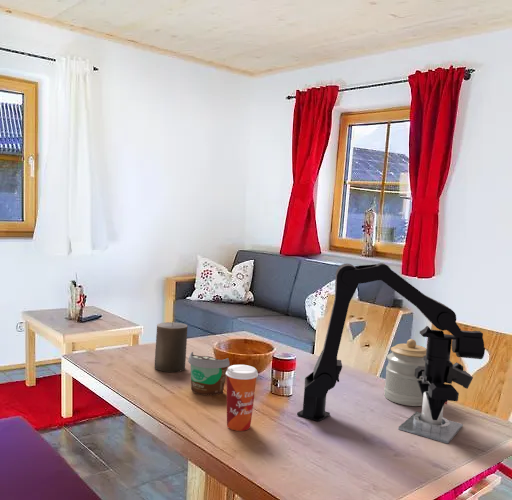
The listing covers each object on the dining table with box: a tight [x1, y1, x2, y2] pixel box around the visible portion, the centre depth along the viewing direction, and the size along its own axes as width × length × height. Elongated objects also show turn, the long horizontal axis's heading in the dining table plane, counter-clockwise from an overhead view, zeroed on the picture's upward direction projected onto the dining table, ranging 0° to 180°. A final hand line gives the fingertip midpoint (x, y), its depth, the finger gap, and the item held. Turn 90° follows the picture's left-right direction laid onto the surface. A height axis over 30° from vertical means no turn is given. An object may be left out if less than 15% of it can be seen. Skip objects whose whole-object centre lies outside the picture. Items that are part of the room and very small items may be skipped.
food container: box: [187, 351, 231, 396], centre depth 149 cm, size 12×6×10 cm, turn 68°
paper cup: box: [226, 364, 259, 432], centre depth 128 cm, size 8×8×14 cm
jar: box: [383, 338, 427, 407], centre depth 156 cm, size 13×13×18 cm
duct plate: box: [398, 411, 464, 445], centre depth 135 cm, size 14×12×2 cm
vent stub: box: [421, 391, 448, 425], centre depth 135 cm, size 6×5×7 cm
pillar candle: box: [154, 320, 188, 373], centre depth 170 cm, size 10×10×15 cm
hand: (431, 415), depth 135 cm, fingers closed on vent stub, 5 cm apart
